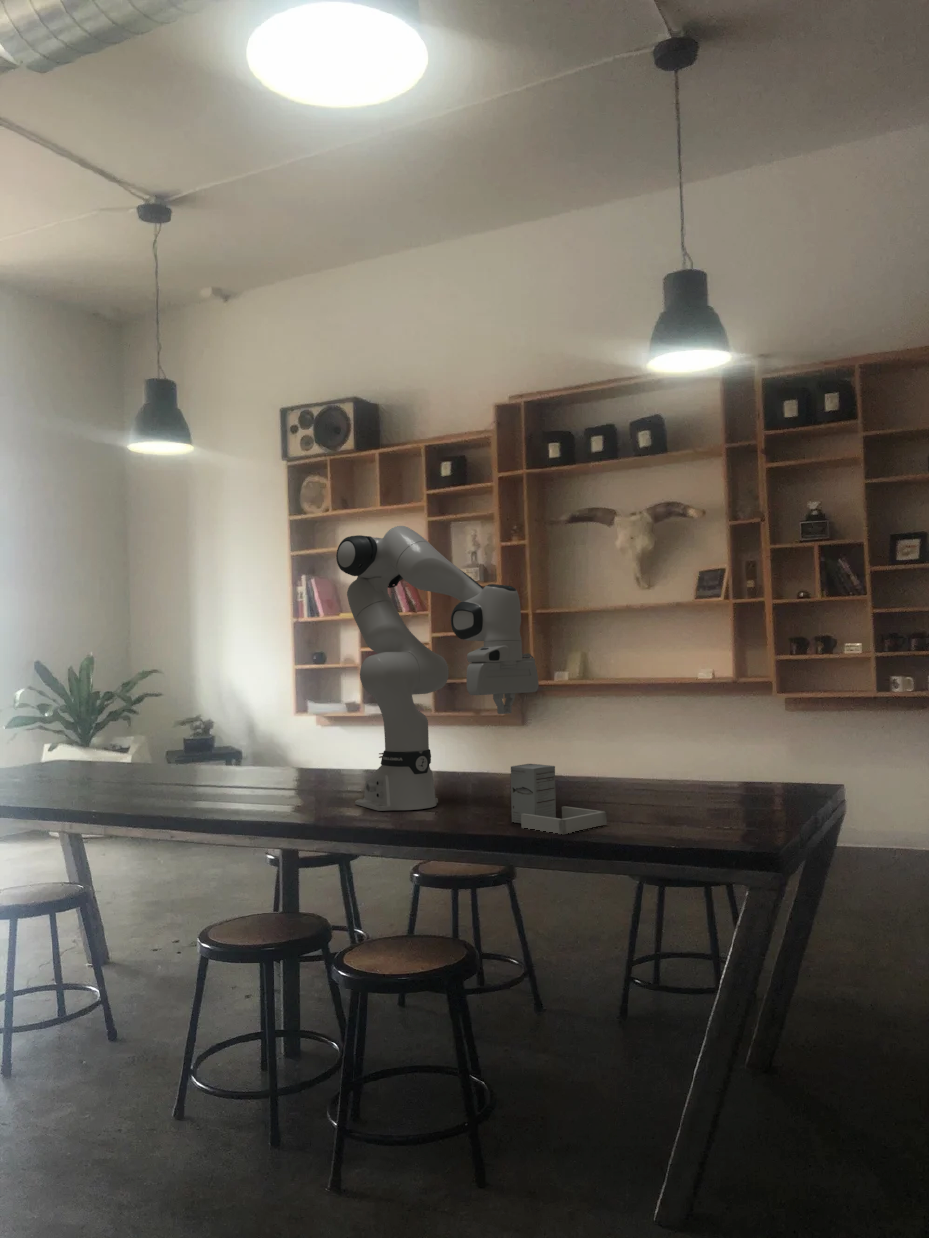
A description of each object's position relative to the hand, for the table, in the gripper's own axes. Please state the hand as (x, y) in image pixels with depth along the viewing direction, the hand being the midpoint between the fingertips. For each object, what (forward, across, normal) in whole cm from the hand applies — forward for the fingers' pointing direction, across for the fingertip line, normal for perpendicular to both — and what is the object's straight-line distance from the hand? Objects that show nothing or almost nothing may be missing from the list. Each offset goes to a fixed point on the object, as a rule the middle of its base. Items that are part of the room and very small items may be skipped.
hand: (504, 713), depth 218 cm
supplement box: (+24, 0, +8) cm, 26 cm away
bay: (+24, 0, +17) cm, 30 cm away
